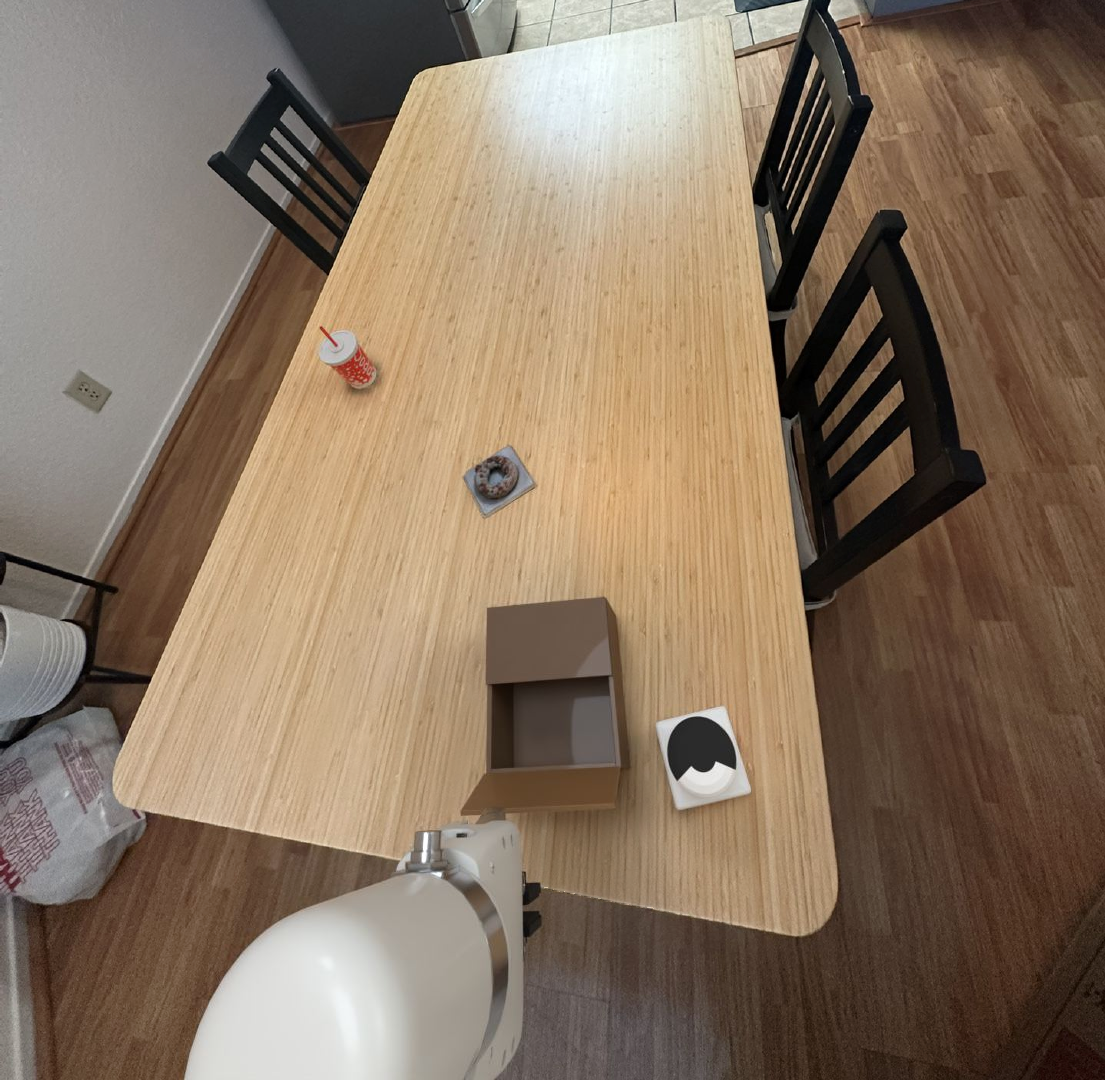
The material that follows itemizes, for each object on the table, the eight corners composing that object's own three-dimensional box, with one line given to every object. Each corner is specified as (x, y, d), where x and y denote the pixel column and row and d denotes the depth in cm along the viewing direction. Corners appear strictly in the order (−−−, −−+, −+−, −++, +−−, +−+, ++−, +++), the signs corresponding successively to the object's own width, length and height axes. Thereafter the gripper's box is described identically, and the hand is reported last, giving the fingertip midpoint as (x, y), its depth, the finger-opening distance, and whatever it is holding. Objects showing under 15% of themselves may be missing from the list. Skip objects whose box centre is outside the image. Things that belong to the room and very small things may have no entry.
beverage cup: (366, 398, 99) (323, 349, 88) (338, 386, 101) (292, 338, 90) (388, 367, 101) (348, 316, 90) (359, 356, 104) (318, 306, 93)
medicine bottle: (658, 725, 67) (650, 718, 57) (723, 710, 66) (726, 700, 57) (678, 807, 63) (674, 814, 53) (747, 791, 62) (756, 795, 53)
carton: (630, 768, 65) (620, 768, 57) (510, 774, 67) (483, 775, 59) (616, 615, 74) (605, 595, 65) (510, 624, 75) (486, 606, 67)
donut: (511, 443, 89) (507, 437, 88) (536, 486, 85) (533, 480, 83) (461, 474, 88) (456, 468, 86) (484, 519, 84) (479, 514, 82)
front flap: (619, 765, 57) (620, 770, 57) (484, 773, 59) (484, 778, 59) (614, 803, 50) (614, 809, 50) (460, 810, 52) (460, 816, 52)
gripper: (368, 773, 33) (471, 772, 48) (318, 1248, 24) (463, 1066, 39) (504, 766, 32) (566, 767, 47) (503, 1258, 23) (580, 1067, 38)
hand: (519, 903), depth 43 cm, fingers closed
